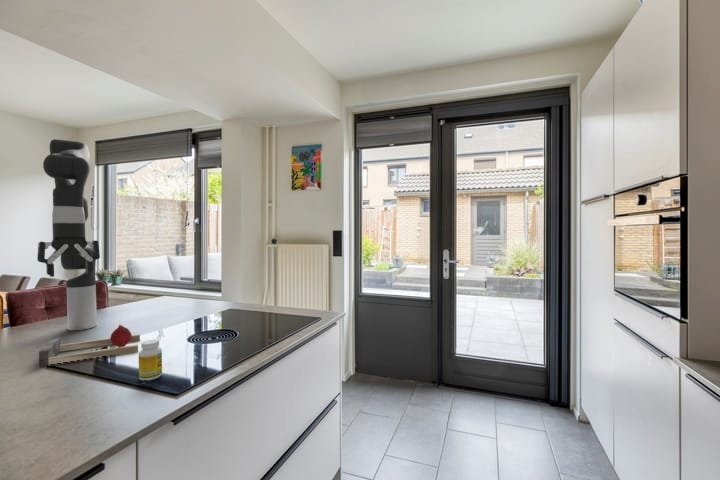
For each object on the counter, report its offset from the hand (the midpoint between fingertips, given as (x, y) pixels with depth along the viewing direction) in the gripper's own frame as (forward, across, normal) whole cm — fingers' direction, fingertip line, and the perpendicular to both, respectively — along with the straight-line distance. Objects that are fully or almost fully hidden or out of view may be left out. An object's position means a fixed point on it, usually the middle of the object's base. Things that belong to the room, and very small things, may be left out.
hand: (70, 274), depth 103 cm
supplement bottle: (+26, -10, +33) cm, 43 cm away
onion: (+26, -13, 0) cm, 29 cm away
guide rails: (+26, -6, -3) cm, 27 cm away
